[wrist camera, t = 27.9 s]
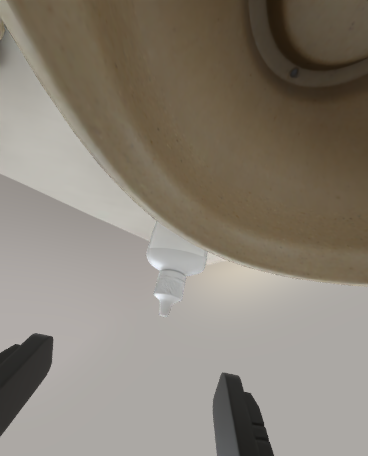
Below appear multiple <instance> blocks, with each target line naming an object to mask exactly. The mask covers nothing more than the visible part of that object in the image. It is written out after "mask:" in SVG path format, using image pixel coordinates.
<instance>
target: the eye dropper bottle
mask: <svg viewBox="0 0 368 456" xmlns="http://www.w3.org/2000/svg"><path fill="white" fill-rule="evenodd" d="M207 253H208V251H206V250H203V249H201V248H199V247H197V246H195V245H194V244H192V243H190V242H188V241H187V240H185V239H183V238H182V237H180V236H179V235H177V234H175V233H174V232H172V231H171V230H169V229H167V228H166V227H165V226H163V225H162V224H161V223H159V222H158V221H157V220H156V223H155V226H154V229H153V233H152V236H151V239H150V242H149V246H148V249H147V259H148V261H149V263H150V264H151V265H152V266H153V267H155V268H156V269H158V270H160V272H159V275H158V279H157V283H156V287H155V291H154V296H155V297H157V298H158V299H159V301H160V313H159V315H161V316H164V317H168V315H169V313H170V310H171V307H172V305H173V304H174V303H177V302H180V301H181V300H182V297H183V292H184V286H185V280H186V277H185V276H190V275H195V274H198V273H201V272H202V271H203V270H204V268H205V265H206V260H207Z"/></svg>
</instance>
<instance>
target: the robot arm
mask: <svg viewBox="0 0 368 456" xmlns="http://www.w3.org/2000/svg"><path fill="white" fill-rule="evenodd" d="M52 350H53V337H52V336H47V335H42V334H37V333H35V334H33V335H31V336H30V337H29V338H28V339H27V340H26V341H25V342H24V343H22V344H21V345H18V344H15V345H13V346H11V347H10V348H8V349H6V350H4V351H3V352H1V353H0V436H1V435H2V434H3V432H4V431H5V430H6V429H7V427H8V426H9V425H10V423H11V422H12V421H13V419H14V418H15V417H16V415H17V414H18V413H19V411H20V410H21V409H22V407H23V406H24V405H25V403H26V402H27V401H28V399H29V398H30V397H31V396H32V394H33V393H34V392H35V390H36V389H37V388H38V386H39V385H40V384H41V382H42V381H43V379H44V378H45V377H46V375H47V373H48V371H49V369H50V367H51V363H52ZM213 418H214V419H213V420H214V429H215V440H216V450H217V456H274V454H273V451H272V448H271V444H270V442H269V438H268V435H267V432H266V428H265V427H264V422H263V419H262V415H261V412H260V409H259V406H258V405H257V403H256V401H255V400H254V398H253V396H252V395H251V393H247V392H244V391H243V387H242V383H241V379H240V377H239V376H237V375H233V374H228V373H222V374H221V376H220V379H219V383H218V386H217V389H216V392H215V395H214V399H213Z"/></svg>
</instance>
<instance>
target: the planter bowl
mask: <svg viewBox="0 0 368 456" xmlns="http://www.w3.org/2000/svg"><path fill="white" fill-rule="evenodd" d="M0 17H1V19H2V21H3V22H4V24H5V26H6V27H7V29H8V30H9V32H10V34H11V35H12V37H13V39H14V40H15V42H16V44H17V45H18V47H19V49H20V50H21V52H22V53H23V55H24V57H25V58H26V60H27V62H28V63H29V65H30V67H31V68H32V70H33V72H34V73H35V75H36V77H37V78H38V80H39V81H40V83H41V84H42V86H43V87H44V89H45V90H46V92H47V93H48V95H49V96H50V98H51V99H52V101H53V102H54V104H55V105H56V107H57V108H58V110H59V111H60V113H61V114H62V115H63V117H64V118H65V120H66V121H67V123H68V124H69V126H70V127H71V129H72V130H73V132H74V133H75V134H76V136H77V137H78V138H79V139H80V141H81V142H82V143H83V145H84V146H85V147H86V148H87V150H88V151H89V152H90V154H91V155H92V156H93V158H94V159H95V160H96V161H97V162H98V164H99V165H100V166H101V167H102V168H103V169H104V171H105V172H106V173H107V174H108V175H109V176H110V177H111V178H112V179H113V181H114V182H115V183H116V184H117V185H118V186H119V187H120V188H121V189H122V190H123V191H124V192H125V193H126V194H127V195H128V196H129V197H130V198H131V199H132V200H133V201H135V202H136V203H137V204H138V205H139V206H140V207H141V208H142V209H143V210H144V211H146V212H147V213H148V214H149V215H150V216H151V217H153V218H154V219H155V220H157V221H158V222H159V223H161V224H162V225H163V226H165V227H166V228H167V229H169V230H171V231H172V232H174V233H175V234H177V235H179V236H180V237H182V238H183V239H185V240H187V241H188V242H190V243H192V244H194V245H195V246H197V247H199V248H201V249H203V250H206V251H208V252H210V253H212V254H214V255H216V256H219V257H221V258H223V259H226V260H228V261H231V262H233V263H236V264H239V265H242V266H245V267H249V268H252V269H256V270H259V271H263V272H268V273H272V274H276V275H280V276H284V277H290V278H296V279H302V280H309V281H316V282H325V283H333V284H341V285H352V286H364V287H368V0H0Z"/></svg>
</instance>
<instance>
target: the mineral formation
mask: <svg viewBox="0 0 368 456" xmlns="http://www.w3.org/2000/svg"><path fill="white" fill-rule="evenodd" d="M4 32H5V28H4V22H3V21H2V19H1V17H0V40H1V39H2V37H3V34H4Z"/></svg>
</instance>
